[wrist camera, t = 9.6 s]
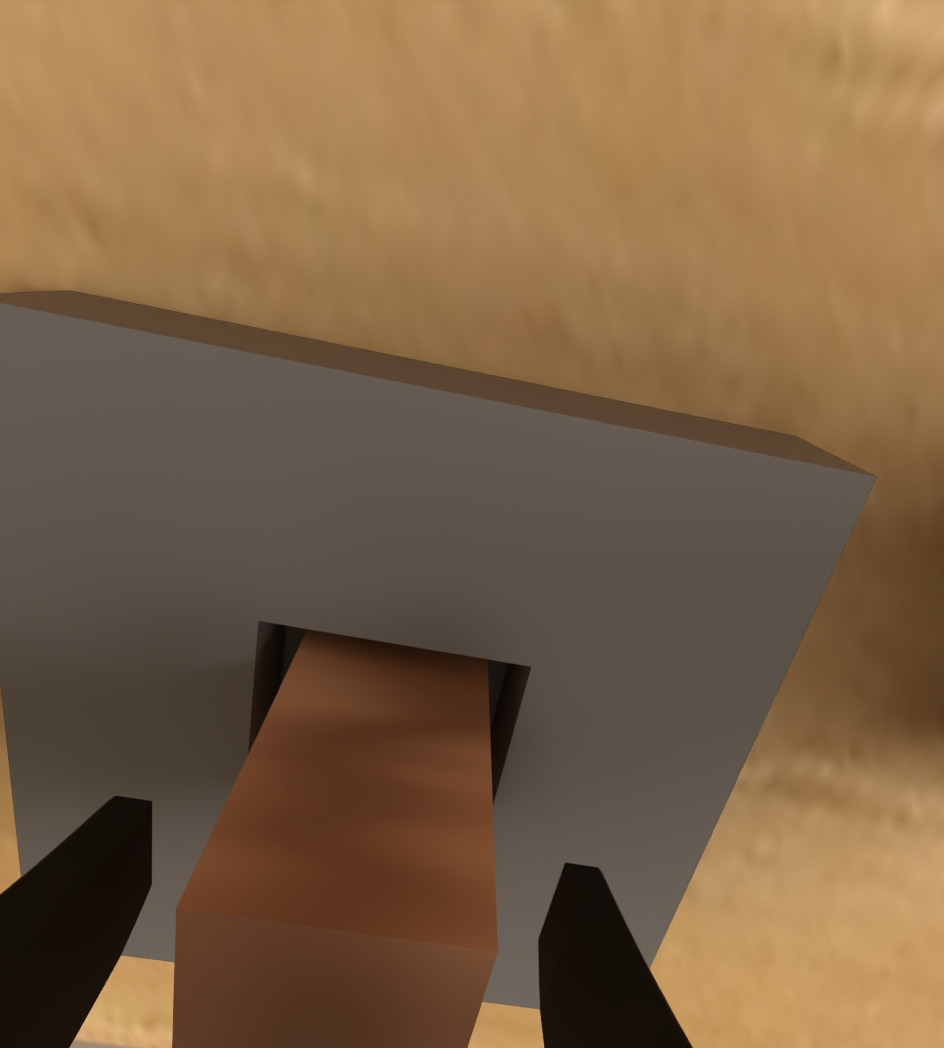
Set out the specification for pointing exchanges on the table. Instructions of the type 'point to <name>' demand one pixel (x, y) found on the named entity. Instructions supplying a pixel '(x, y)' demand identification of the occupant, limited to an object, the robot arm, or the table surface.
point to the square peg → (349, 862)
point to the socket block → (389, 588)
